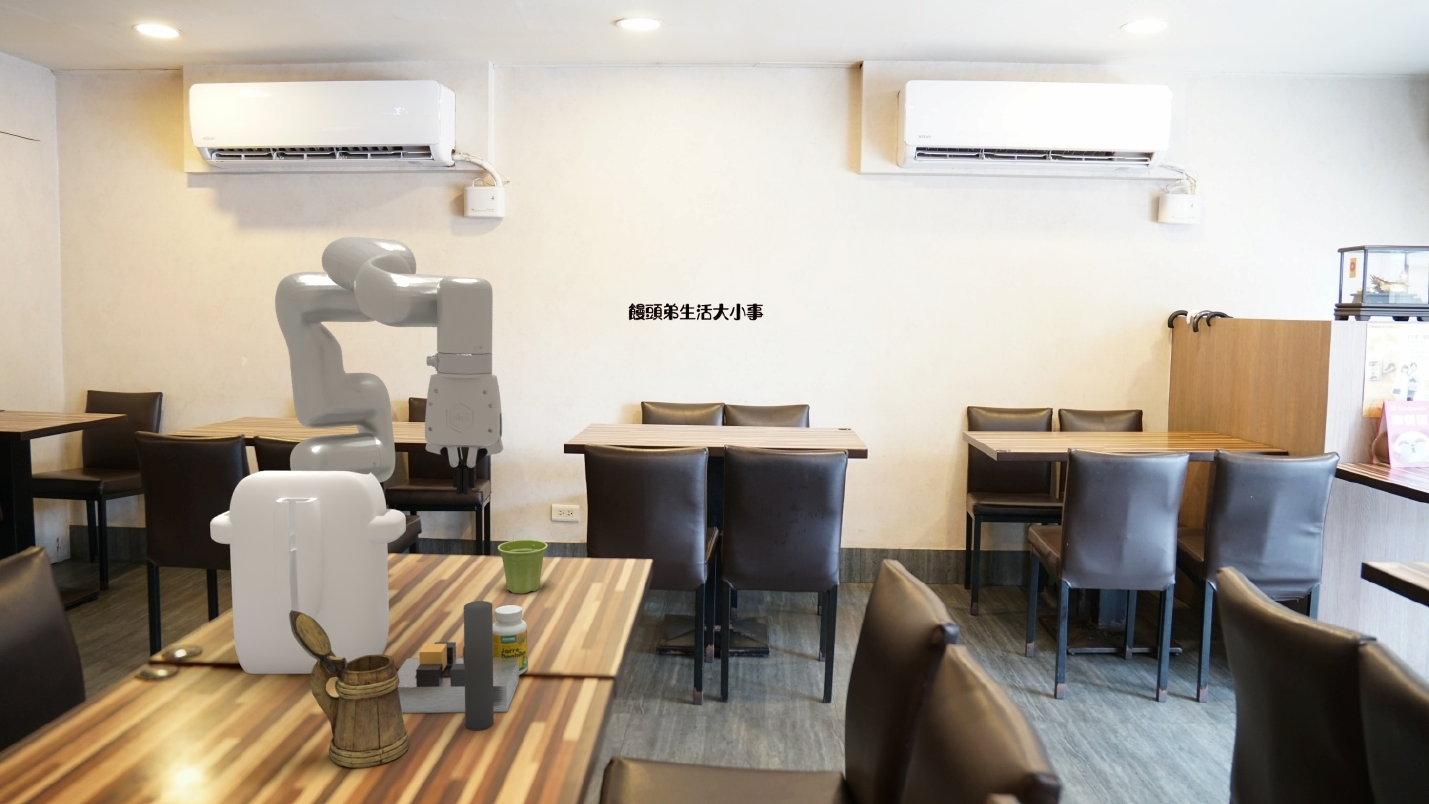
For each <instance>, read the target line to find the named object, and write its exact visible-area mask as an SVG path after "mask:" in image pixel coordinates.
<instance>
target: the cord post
mask: <svg viewBox="0 0 1429 804" xmlns="http://www.w3.org/2000/svg"><path fill="white" fill-rule="evenodd" d="M493 621H494V620H493V603H492V602H489V601H485V600H478V601H471V602H468V603H467V602H466V603H465V604H464V605H463V647H464V665H465V712H464V713H465V715H464V717H465V718H464V719H465V720H464V722H465V724H464V726H465V729H468V730H471V731H482V730H486V729H489V728H491V727H492V726H494V724H495V723H494V719H495V718H494V717H495V716H494V713H495V712H494V710H493V623H494V622H493Z"/></svg>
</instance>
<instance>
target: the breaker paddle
mask: <svg viewBox="0 0 1429 804" xmlns="http://www.w3.org/2000/svg"><path fill="white" fill-rule="evenodd" d="M418 654H419V658H418V659H419V660H420V664H443V670H444V668H445V667H446V665H447V644H434V643H425V644H424V645H423V646H422V647H421V649H420V651H419V652H418Z"/></svg>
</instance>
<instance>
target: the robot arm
mask: <svg viewBox="0 0 1429 804" xmlns="http://www.w3.org/2000/svg"><path fill="white" fill-rule="evenodd" d="M416 261H417V260H416V258H415V255H414V253H413V251H412V249H410V247H409V246H408V245H407V244H405V243H403V242H401V241H399V240H395V239H387V238H386V239H385V238H383V239H382V238H372V237H359V236H345V237H340V238H337V239H335V240H333V241H332V242H330V243H329V244H327V245H326V247H325V249H324V250H323V252H322V255H321V266H322V269H323V271H303V272H296V273H291V274H289V275H287V276H284V277H283V278H282V279H281V280H280V282H279V283H278V286H277V287H276V291H275V298H274V306H275V309H274V310H275V313H276V319H277V322H278V325H279V328H280V331H281V333H282V336H283V338H284V340H285V343H286V347H287V350H288V357H289V367H290V368H289V369H290V376H291V377H290V378H291V379H290V380H291V387H292V396H293V397H292V398H293V406H294V412H295V416H296V419H297V420H298V422H299V424H301V425H302V426H304V427H305V428H309V429H331V428H339V427H340V428H342V427H344V428H345V427H353V426H354V427H355V426H356V427H357V431H358V432H357V433H345V434H344V433H342V434H341V433H340V434H332V435H323V436H320V435H319V436H314V437H311V438H307V439H304V440H302V441H301V442H299V443H297V444H296V445H295V446H294V448H292V450H291V453H290V457H289V462H290V463H289V465H290V471H350V472H355V473H360V474H370V472H371V473H372V474H373V475H374V476H375V477H376V478H377V480H378V481H379V483H383V482H385V481H387V480H388V479H390V478H391V477H392V475H393V473H394V471H395V469H396V467H395V466H396V449H395V438H394V427H393V418H392V417H393V416H392V405H391V401H390V399H391V397H390V393H389V392H388V389H387V386H386V383H385V382H384V381H383V379H382V378H380V377H379V376H378V375H376V374H374V373H371V372H369V373H368V372H346V371H345V368H344V360H343V351H342V347H341V345H340V343H339V341H338V340H337V339H336V336H335V335H334V334H333V333H332V332H331V331H330V330H329V328H327V327H326V326H325V325H324V324H322V323H323V322H327V323H328V322H329V323H330V322H332V323H371V322H375V321H376V322H377V323H380V324H382V325H386V326H389V327H395V328H436V352H435V354H434V355H432V356H431V355H429V356H428V355H427V356H426V366H429V367H430V366H431V367H433V368H434V369H435V372H436V374H430V377H429V378H430V379H429V382H428V389H427V395H426V396H427V397H426V408H425V417H424V418H425V419H424V440H425V442H426V445H425V450H426V451H427V452H430V453H434V454H437V455H440V456H442V457H443V458H444V459H445V460H446V461H447V462H448V463H449V465H450V467H452V488H453V489H455V488H456V489H455V490H456V495H457V496H461V495H464V496H469V495H470V494H471V493H472V492H473V489H475V488H476V487H477V464H479V462H481V461H482V460H483V459H484V458H485V457H487V456H492V455H497V454H500V453H501V452H502V451H503V450H504V446H503V441H502V435H503V417H502V414H503V413H502V402H501V394H500V392H501V391H500V386H499V381H498V376H497V375H495V374H493V308H494V307H493V304H494V303H493V299H494V298H493V297H494V296H493V295H494V294H493V293H494V292H493V286H492V284H491V282H490V281H488V280H487V279H485V278H477V277H462V276H461V277H460V276H459V277H458V276H453V275H452V276H451V275H434V274H417V262H416ZM462 448H468V453H467V458H466V462H465V460H464V459H463V453H462Z"/></svg>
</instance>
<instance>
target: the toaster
mask: <svg viewBox="0 0 1429 804" xmlns="http://www.w3.org/2000/svg"><path fill="white" fill-rule="evenodd" d="M380 483H381V482H380ZM380 483H379V481H378V480H377V478H376V477H375V476H374V475H373V474H372V473H371V472H370V474H360V473H355V472H350V471H291V470H263V471H262V470H261V471H256V472H255V473H252V474H249V475H247V476H246V477H244V478H242V479H241V480H240V481H239V482H238V484H237V485H236V487H235V489H234V491H233V493H232V496H231V499H230V503H229V510H227V511H225V512H222V513H221V514H218V515H217V516H215V517H214V518H212V519H211V521H210V523H209V526H210V527H209V528H210V530H209V531H210V537H211V540H213V541H214V542H216V543H219V544H225V545H229V549H230V550H229V551H230V573H231V575H230V577H231V597H232V598H231V599H232V600H231V601H232V626H233V627H232V628H233V642H234V648H235V653H236V656H237V660H238V662H239V664H240V666H241V668H242V670H243V671H244V673H246V674H250V675H251V674H252V675H280V674H283V675H284V674H285V675H289V674H290V675H292V674H293V675H294V674H295V675H296V674H297V675H298V674H303V675H304V674H311V672H312V669H313V667H314V665H315V664H316V662H317V659H315V658H313V657H311V656H310V655H309V654H308V653H307V652H306V651H305V650H304V649H303V648H302V647H301V645H300V644H299V643H298V642H297V640H296V639H295V637H294V635H293V633H292V630H291V625H290V619H289V613H290V611H291V610H293V611H298V612H301V613H304V614H306V615H308V616H310V617H311V618H313V619H314V620H315V621H316V622H317V623H318V624H319V625H320V626H321V627H322V628H323V630H324V631H325V632H326V634H327V636H328V638H329V641H330V643H331V650H332V652H333V653H334V654H335V655H336V657H343V658H345V659H346V661H347V663H348V662H350V661H352V660H354V659H357V658H359V657H362V656H366V655H377V654H380V655H384V652H385V650H386V647H387V644H388V638H389V633H390V605H389V603H390V601H389V596H390V595H389V563H388V562H389V561H388V560H389V558H388V556H389V555H388V551H389V549H388V544H389V543H392V542H395V541H397V540H398V539H399V538H400V537H402V536H403V534H404V533H405V532H406V529H407V526H406V525H407V523H406V522H407V521H406V520H407V519H406V515H405V514H404V512H402V511H401V510H397V509H395V508H393V509H392V508H387V505H386V504H387V503H386V498H385V494H384V489H383V487H382V485H381V484H380Z"/></svg>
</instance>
